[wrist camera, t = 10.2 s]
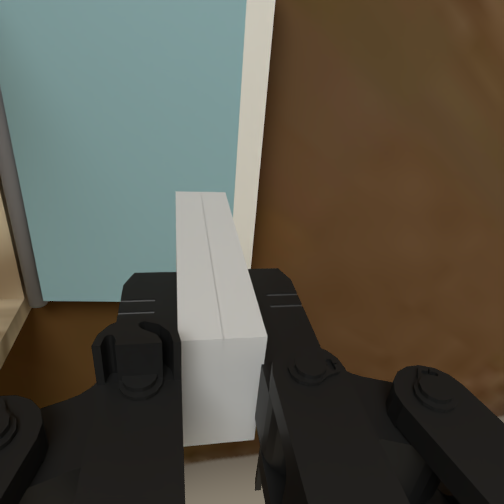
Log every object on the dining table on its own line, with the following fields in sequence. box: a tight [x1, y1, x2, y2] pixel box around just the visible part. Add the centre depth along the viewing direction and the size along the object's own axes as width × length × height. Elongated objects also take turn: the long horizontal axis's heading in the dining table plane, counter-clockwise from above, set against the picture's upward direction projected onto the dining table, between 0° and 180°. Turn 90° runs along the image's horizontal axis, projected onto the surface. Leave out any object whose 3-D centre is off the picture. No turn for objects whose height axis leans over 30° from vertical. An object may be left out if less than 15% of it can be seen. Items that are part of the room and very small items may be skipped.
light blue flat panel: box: [0, 0, 275, 308], centre depth 20 cm, size 18×1×13 cm
